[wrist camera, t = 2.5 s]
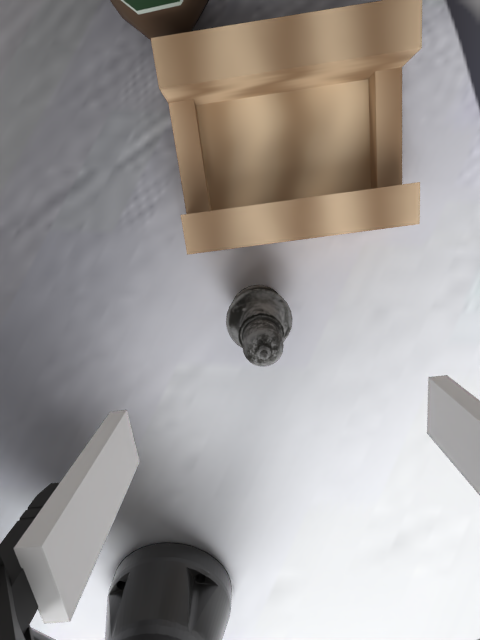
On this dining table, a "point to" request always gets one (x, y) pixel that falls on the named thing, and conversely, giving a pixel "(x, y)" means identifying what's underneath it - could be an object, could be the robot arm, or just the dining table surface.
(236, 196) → the well block
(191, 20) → the beer bottle
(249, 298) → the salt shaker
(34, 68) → the dining table surface
